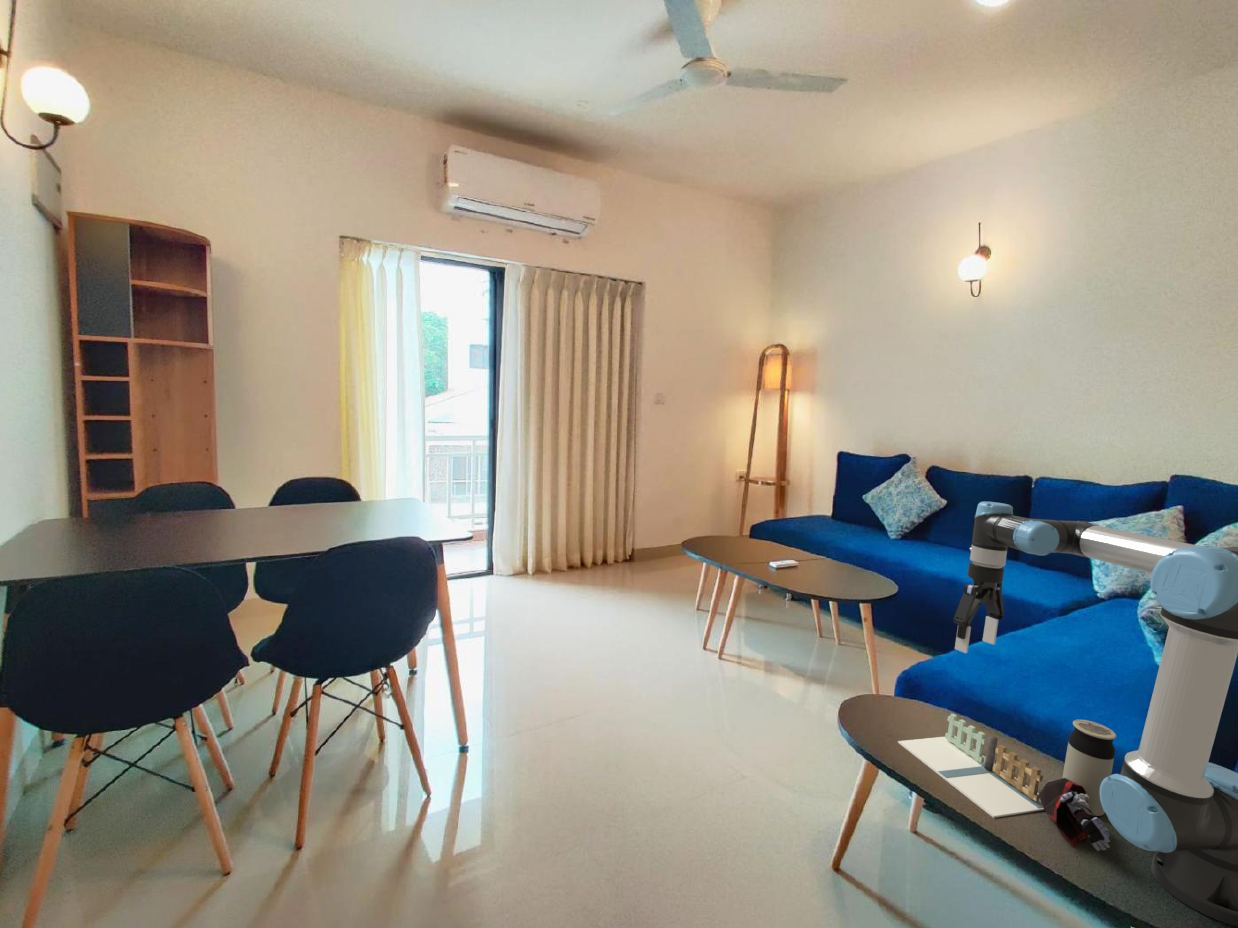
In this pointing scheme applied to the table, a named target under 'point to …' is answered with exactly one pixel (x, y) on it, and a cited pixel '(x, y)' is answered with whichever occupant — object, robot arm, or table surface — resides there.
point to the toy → (1073, 813)
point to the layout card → (971, 777)
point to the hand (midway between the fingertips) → (975, 646)
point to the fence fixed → (1012, 768)
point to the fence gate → (970, 737)
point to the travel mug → (1090, 759)
